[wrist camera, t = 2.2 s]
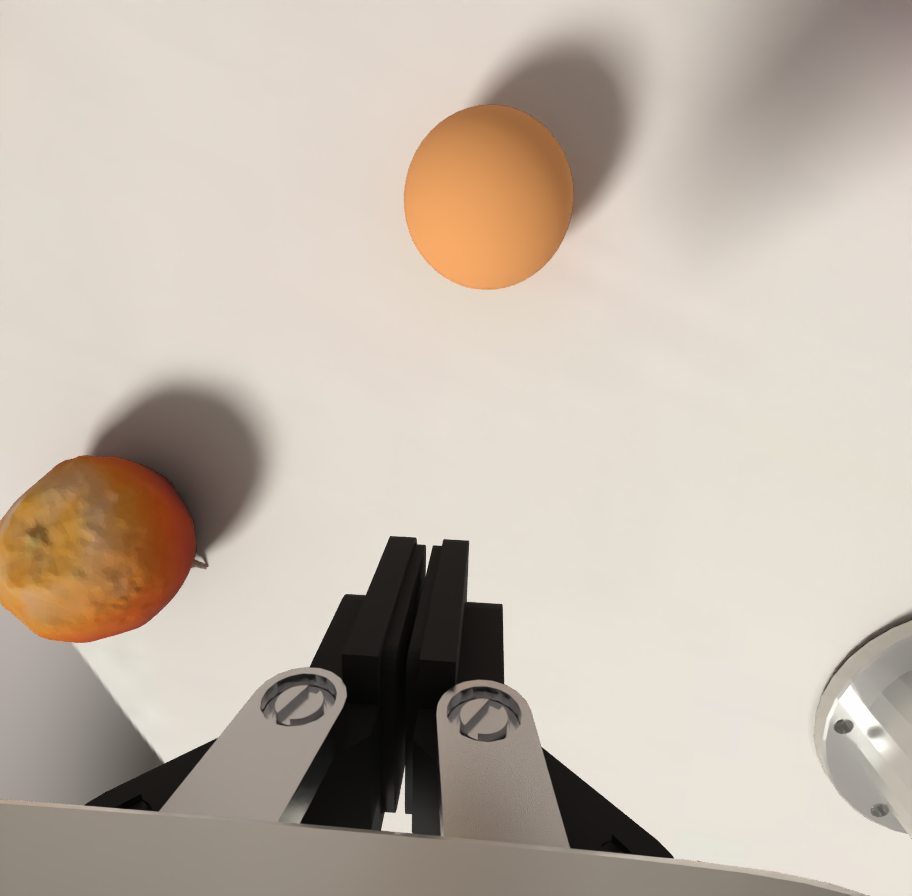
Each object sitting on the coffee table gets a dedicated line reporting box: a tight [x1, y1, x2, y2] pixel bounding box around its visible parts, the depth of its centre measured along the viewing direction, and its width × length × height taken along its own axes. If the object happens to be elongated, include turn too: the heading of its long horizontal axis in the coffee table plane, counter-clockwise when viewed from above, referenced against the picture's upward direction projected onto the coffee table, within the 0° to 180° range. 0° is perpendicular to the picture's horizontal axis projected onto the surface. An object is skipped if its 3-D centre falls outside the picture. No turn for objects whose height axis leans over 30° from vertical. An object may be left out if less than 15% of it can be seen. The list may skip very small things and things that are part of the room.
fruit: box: [0, 455, 208, 643], centre depth 26 cm, size 8×8×8 cm
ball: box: [404, 105, 574, 290], centre depth 20 cm, size 6×6×6 cm
